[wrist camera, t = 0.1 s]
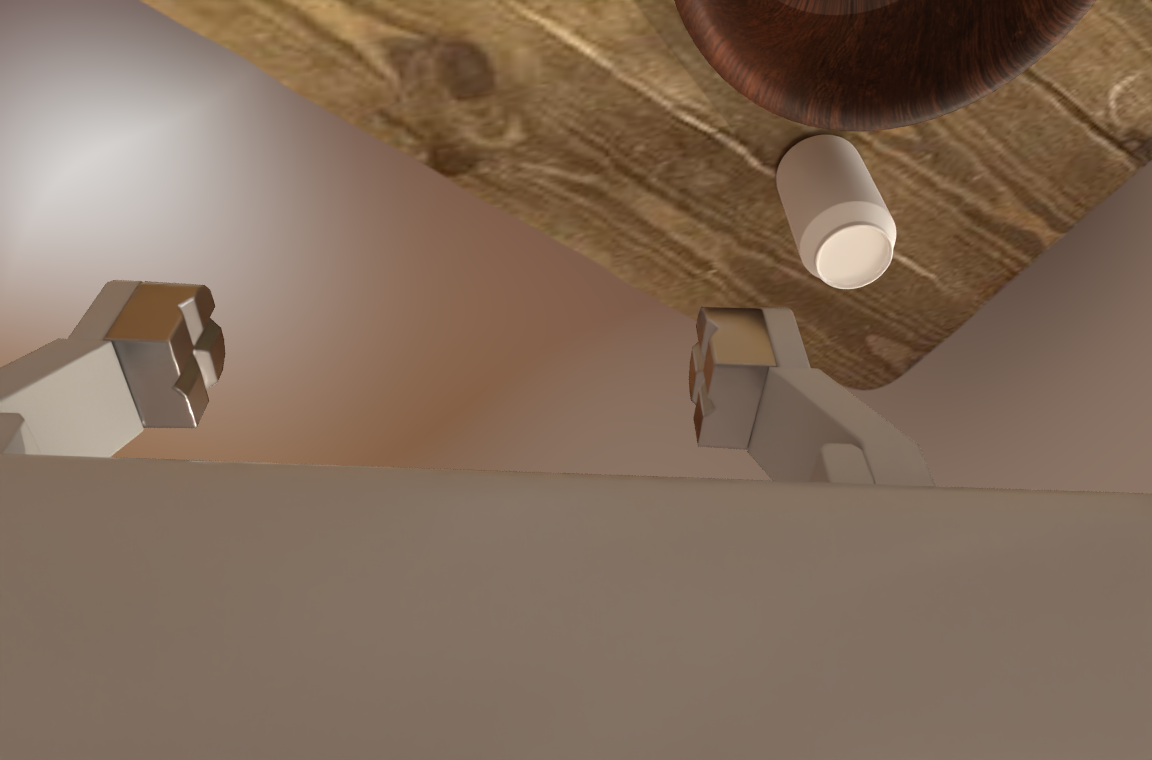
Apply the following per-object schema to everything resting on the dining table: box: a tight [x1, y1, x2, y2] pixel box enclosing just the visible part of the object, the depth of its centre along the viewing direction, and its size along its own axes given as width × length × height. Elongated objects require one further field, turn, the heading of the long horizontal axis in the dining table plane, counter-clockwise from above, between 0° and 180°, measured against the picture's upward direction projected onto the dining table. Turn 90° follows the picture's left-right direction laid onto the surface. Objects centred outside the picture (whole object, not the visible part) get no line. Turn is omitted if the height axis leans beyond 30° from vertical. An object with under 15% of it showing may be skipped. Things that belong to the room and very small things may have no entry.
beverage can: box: [776, 135, 896, 289], centre depth 61 cm, size 6×6×12 cm
